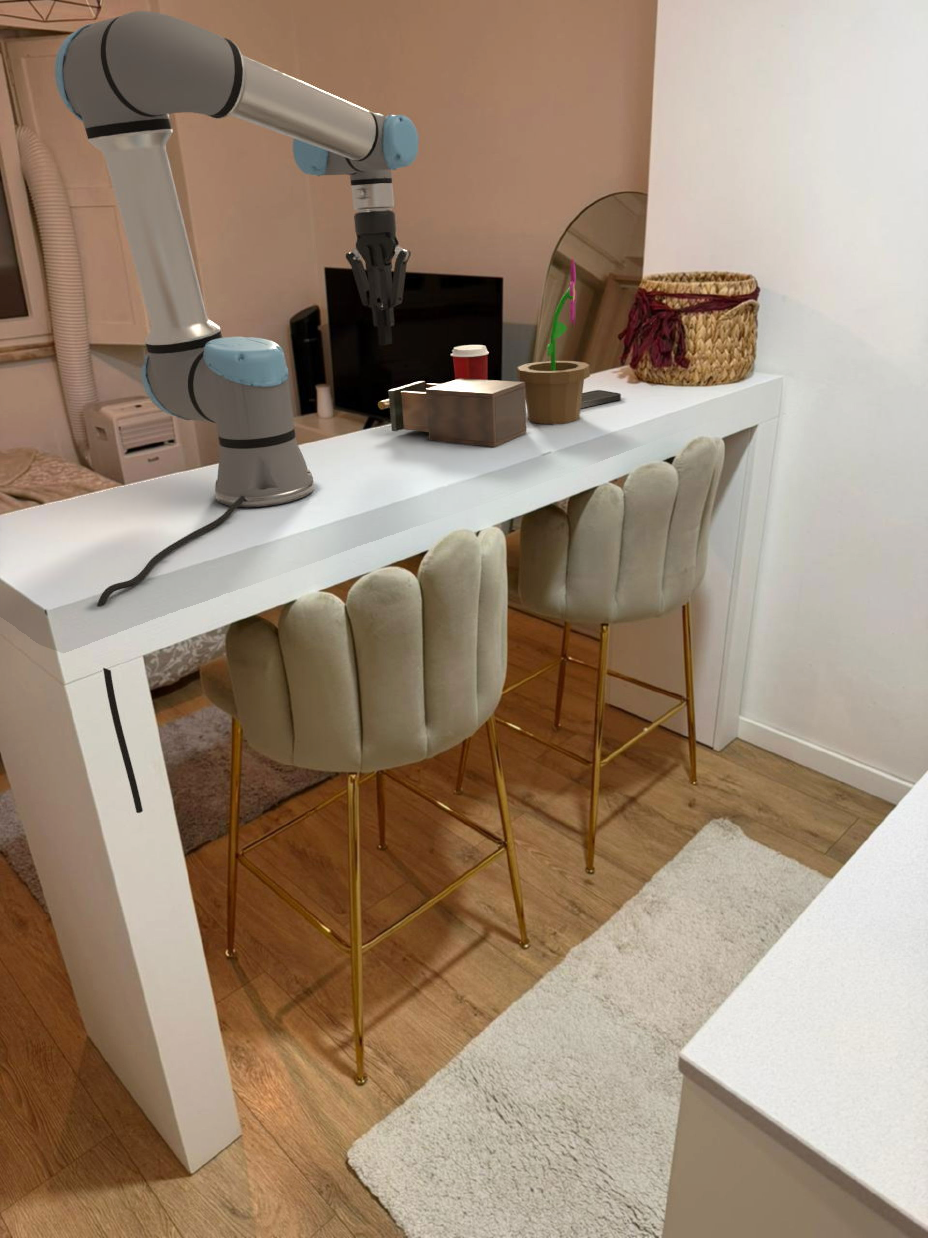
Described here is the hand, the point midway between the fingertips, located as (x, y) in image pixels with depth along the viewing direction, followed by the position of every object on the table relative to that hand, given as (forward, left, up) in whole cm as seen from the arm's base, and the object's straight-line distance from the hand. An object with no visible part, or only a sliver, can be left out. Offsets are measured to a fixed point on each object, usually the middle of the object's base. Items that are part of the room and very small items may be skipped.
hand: (385, 343), depth 172 cm
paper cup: (+15, -9, -17) cm, 24 cm away
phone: (+35, -25, -17) cm, 46 cm away
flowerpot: (+19, -26, -17) cm, 37 cm away
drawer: (0, -8, -16) cm, 18 cm away
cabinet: (0, -20, -16) cm, 26 cm away
